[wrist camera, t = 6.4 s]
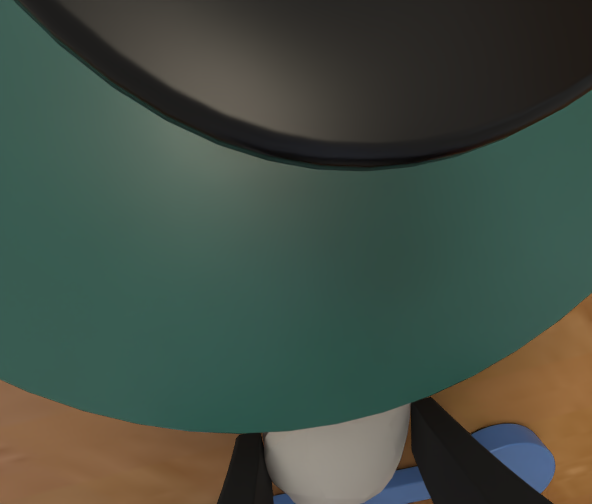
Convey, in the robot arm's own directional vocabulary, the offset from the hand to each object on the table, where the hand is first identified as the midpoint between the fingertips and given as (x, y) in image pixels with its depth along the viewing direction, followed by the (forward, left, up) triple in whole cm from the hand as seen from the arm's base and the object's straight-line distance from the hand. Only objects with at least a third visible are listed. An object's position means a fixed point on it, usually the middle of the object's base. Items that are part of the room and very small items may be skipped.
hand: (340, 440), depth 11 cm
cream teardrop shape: (0, 0, -2) cm, 2 cm away
